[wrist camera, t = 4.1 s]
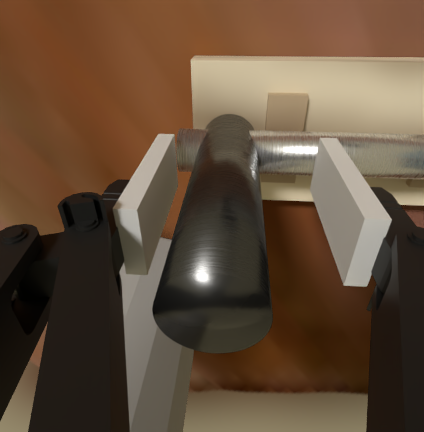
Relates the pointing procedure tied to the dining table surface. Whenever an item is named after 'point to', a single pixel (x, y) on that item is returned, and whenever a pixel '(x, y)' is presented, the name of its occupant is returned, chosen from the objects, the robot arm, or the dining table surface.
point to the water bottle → (152, 355)
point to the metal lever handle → (245, 224)
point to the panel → (314, 104)
